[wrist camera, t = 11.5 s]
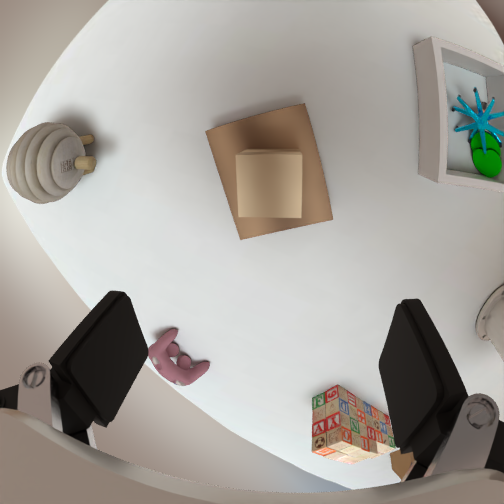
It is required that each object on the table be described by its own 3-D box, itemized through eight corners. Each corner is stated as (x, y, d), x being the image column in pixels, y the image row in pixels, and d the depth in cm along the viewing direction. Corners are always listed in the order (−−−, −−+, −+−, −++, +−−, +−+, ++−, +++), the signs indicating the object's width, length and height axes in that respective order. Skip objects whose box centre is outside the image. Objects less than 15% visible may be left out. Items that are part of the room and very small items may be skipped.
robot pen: (489, 72, 18) (511, 70, 14) (491, 184, 25) (512, 194, 20) (412, 46, 20) (431, 36, 15) (418, 174, 27) (438, 183, 22)
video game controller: (163, 325, 44) (138, 355, 39) (176, 326, 40) (148, 358, 36) (199, 362, 47) (178, 391, 42) (214, 365, 43) (191, 396, 39)
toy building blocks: (402, 463, 63) (408, 518, 40) (389, 453, 58) (396, 519, 35) (433, 449, 58) (443, 505, 36) (426, 437, 53) (439, 504, 31)
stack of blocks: (389, 415, 47) (397, 460, 36) (367, 426, 50) (372, 470, 39) (337, 383, 43) (342, 442, 32) (310, 397, 46) (310, 453, 35)
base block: (302, 106, 26) (304, 103, 22) (328, 208, 31) (333, 219, 27) (215, 130, 28) (205, 131, 25) (245, 226, 33) (240, 239, 29)
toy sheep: (40, 129, 29) (-13, 141, 19) (121, 108, 28) (60, 110, 18) (46, 192, 34) (-4, 216, 24) (124, 188, 32) (69, 216, 22)
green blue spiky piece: (442, 93, 20) (503, 96, 14) (451, 75, 21) (503, 77, 15) (462, 177, 27) (512, 187, 20) (470, 150, 28) (514, 158, 21)
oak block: (299, 148, 24) (302, 154, 19) (298, 198, 27) (301, 218, 21) (246, 149, 25) (235, 155, 20) (248, 198, 27) (238, 217, 22)
